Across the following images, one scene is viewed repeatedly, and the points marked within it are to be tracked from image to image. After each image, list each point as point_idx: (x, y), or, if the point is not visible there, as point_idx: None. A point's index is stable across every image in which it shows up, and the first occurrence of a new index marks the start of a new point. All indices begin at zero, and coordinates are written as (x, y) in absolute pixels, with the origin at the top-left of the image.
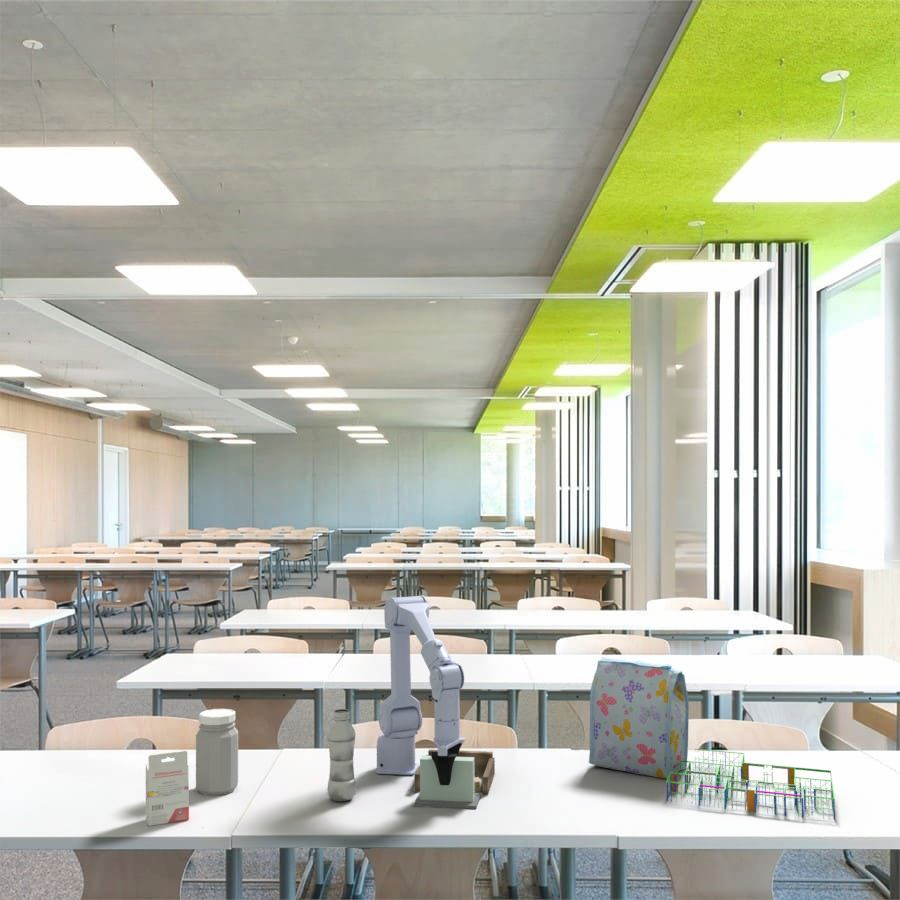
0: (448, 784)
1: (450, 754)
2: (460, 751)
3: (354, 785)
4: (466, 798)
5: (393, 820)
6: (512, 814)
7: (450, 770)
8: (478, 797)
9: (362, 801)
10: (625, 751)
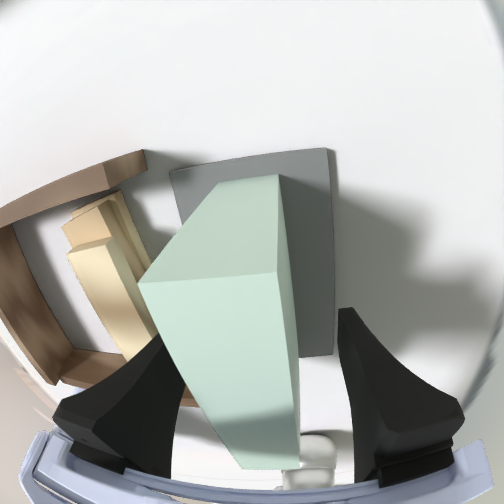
0: (355, 311)
1: (406, 449)
2: (5, 321)
3: (312, 454)
4: (282, 206)
5: (431, 351)
6: (342, 2)
7: (393, 357)
8: (213, 166)
9: (312, 421)
10: None
